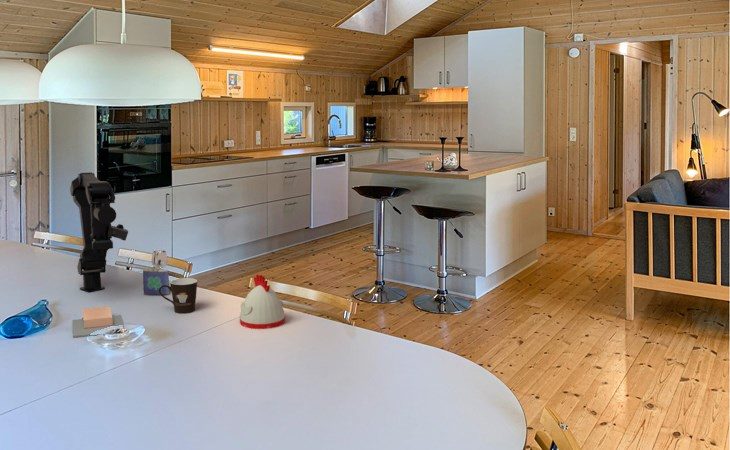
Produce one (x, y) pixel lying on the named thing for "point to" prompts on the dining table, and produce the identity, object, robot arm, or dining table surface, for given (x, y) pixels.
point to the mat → (82, 332)
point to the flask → (155, 281)
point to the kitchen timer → (261, 307)
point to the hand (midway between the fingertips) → (102, 265)
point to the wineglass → (159, 259)
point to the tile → (97, 317)
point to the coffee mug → (182, 294)
